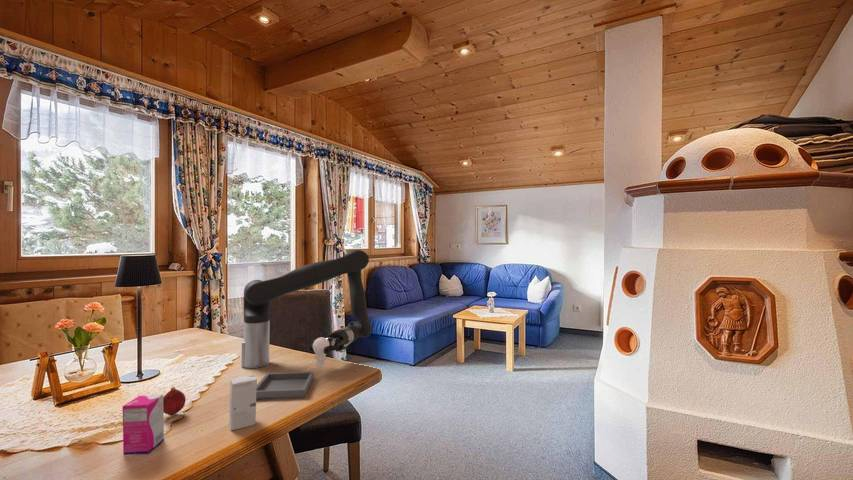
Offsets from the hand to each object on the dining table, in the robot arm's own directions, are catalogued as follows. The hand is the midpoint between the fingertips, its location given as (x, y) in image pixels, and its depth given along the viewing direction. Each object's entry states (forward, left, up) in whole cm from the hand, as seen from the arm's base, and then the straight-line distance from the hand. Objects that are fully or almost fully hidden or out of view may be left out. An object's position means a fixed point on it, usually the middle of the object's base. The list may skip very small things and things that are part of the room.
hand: (317, 350), depth 132 cm
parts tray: (-9, -11, -9) cm, 17 cm away
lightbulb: (+1, +2, -7) cm, 8 cm away
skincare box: (-14, -34, -10) cm, 38 cm away
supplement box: (-33, -43, -10) cm, 55 cm away
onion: (-35, -27, -10) cm, 45 cm away
